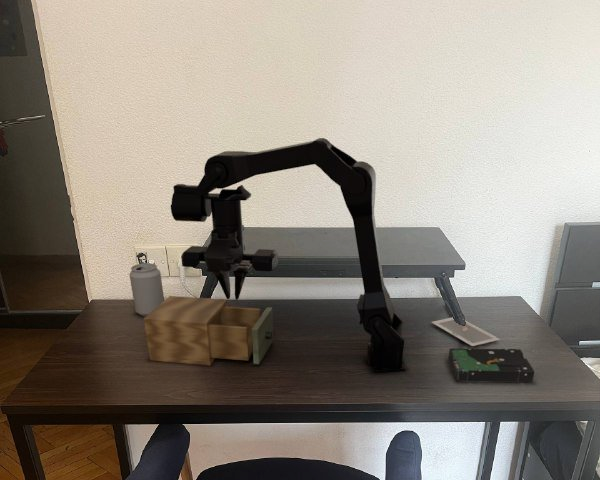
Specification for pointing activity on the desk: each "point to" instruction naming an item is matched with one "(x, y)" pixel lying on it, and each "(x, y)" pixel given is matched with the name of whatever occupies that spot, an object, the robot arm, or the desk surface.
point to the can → (146, 287)
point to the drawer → (241, 333)
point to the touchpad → (466, 332)
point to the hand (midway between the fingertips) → (232, 298)
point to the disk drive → (490, 365)
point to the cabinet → (182, 329)
